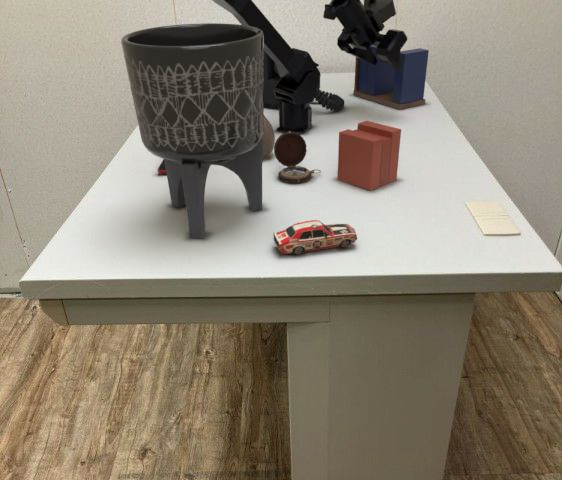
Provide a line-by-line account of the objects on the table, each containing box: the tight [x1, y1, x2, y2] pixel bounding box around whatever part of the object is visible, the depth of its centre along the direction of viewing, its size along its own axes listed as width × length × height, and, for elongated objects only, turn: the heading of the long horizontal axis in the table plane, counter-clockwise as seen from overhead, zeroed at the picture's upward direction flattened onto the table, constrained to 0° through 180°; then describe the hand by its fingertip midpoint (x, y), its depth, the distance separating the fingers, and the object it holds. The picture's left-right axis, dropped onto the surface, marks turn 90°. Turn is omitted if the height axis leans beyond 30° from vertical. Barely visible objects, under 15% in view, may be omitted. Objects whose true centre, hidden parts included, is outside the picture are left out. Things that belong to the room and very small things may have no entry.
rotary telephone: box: [264, 51, 345, 112], centre depth 153 cm, size 33×22×15 cm, turn 58°
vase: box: [262, 114, 276, 160], centre depth 120 cm, size 7×7×9 cm
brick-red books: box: [337, 120, 402, 192], centre depth 108 cm, size 8×7×9 cm
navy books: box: [358, 45, 395, 96], centre depth 155 cm, size 8×6×11 cm
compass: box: [273, 131, 322, 184], centre depth 111 cm, size 8×8×7 cm
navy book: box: [392, 48, 430, 104], centre depth 147 cm, size 8×3×11 cm, turn 122°
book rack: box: [352, 57, 426, 110], centre depth 152 cm, size 8×18×11 cm, turn 32°
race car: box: [272, 219, 358, 256], centre depth 88 cm, size 5×12×5 cm, turn 99°
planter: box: [120, 22, 265, 239], centre depth 91 cm, size 20×20×26 cm
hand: (388, 66), depth 142 cm, fingers open, 9 cm apart
